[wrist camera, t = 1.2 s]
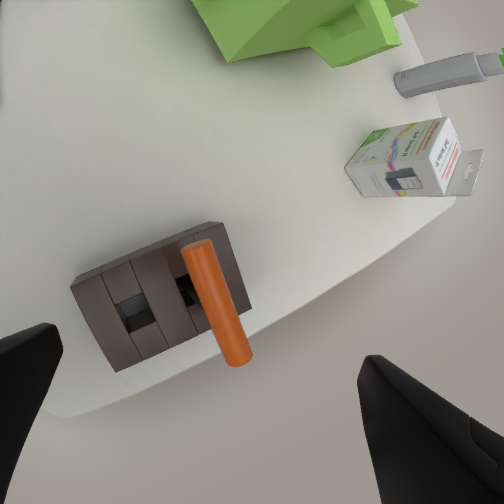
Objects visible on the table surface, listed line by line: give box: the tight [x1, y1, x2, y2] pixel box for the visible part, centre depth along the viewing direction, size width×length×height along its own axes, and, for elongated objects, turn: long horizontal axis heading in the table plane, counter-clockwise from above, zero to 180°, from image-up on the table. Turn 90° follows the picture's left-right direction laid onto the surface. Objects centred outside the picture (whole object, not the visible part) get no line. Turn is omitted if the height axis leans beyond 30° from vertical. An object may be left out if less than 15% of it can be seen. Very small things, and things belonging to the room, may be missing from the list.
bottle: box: [394, 48, 504, 98], centre depth 27 cm, size 4×4×20 cm
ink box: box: [345, 117, 484, 197], centre depth 27 cm, size 9×5×15 cm, turn 135°
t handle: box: [176, 239, 252, 367], centre depth 21 cm, size 2×8×10 cm, turn 19°
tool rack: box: [70, 222, 252, 372], centre depth 22 cm, size 13×8×4 cm, turn 109°
